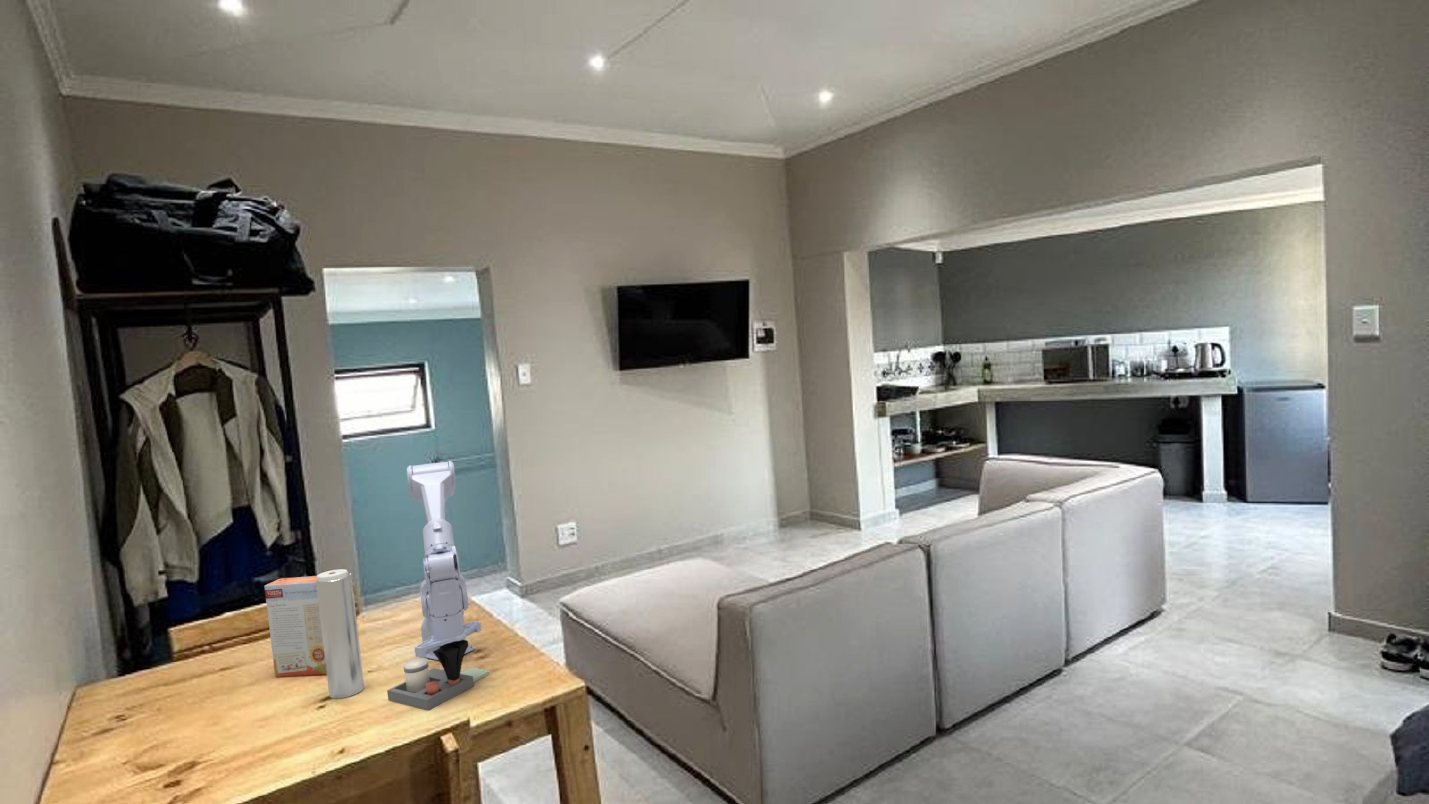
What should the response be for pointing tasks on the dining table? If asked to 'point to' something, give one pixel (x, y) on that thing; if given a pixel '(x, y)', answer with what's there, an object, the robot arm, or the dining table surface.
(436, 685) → the plunger near
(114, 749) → the dining table surface
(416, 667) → the cylinder
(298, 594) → the cracker box
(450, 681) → the plunger far
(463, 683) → the tray
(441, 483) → the robot arm
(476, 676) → the pad
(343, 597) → the aluminum foil roll
